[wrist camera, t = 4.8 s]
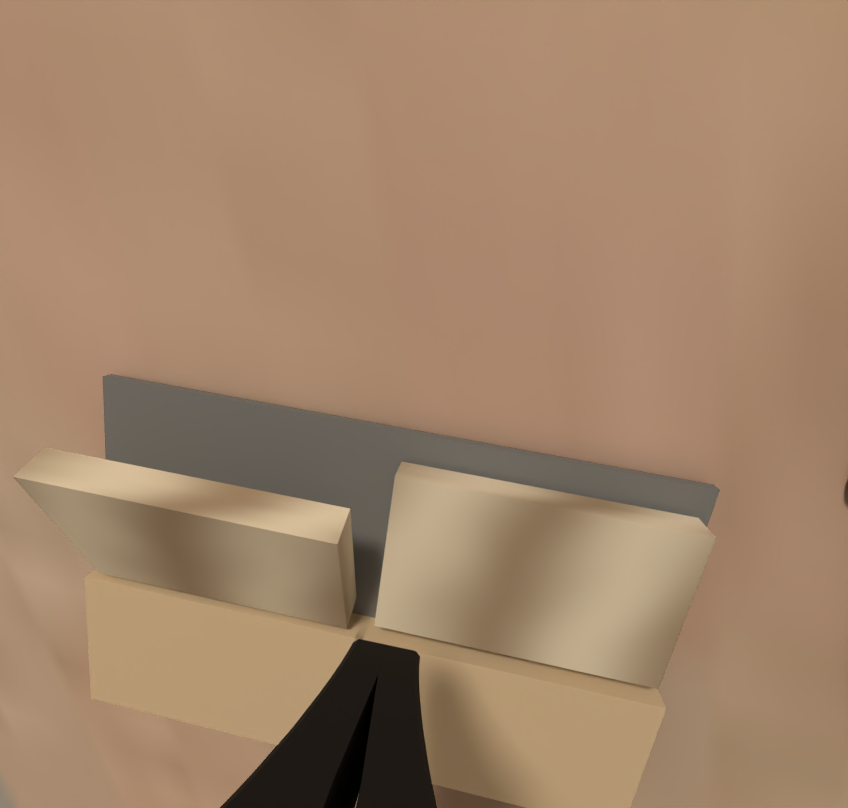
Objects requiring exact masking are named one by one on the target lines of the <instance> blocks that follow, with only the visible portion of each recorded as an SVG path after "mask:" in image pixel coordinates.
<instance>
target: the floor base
mask: <svg viewBox="0 0 848 808" xmlns="http://www.w3.org/2000/svg"><path fill="white" fill-rule="evenodd" d="M103 397H104V424H105V452H106V460H111V461H116V462H121V463H126V464H131V465H136V466H141V467H146V468H151V469H156V470H161V471H166V472H171V473H176V474H181V475H186V476H191V477H195V478H200V479H205V480H210V481H215V482H220V483H225V484H230V485H235V486H240V487H245V488H250V489H255V490H260V491H265V492H270V493H275V494H280V495H285V496H290V497H295V498H300V499H305V500H310V501H315V502H320V503H325V504H330V505H335V506H340V507H345V508H350V511H351V525H352V540H353V554H354V568H355V583H356V601H355V604H354V607H353V611H352V614H351V617H350V621H349V624H348V627H347V629H345V628H341V627H337V626H332V625H328V624H323V623H319V622H314V621H310V620H305V619H301V618H297V617H292V616H288V615H283V614H279V613H274V612H270V611H265V610H261V609H257V608H252V607H248V606H243V605H239V604H234V603H230V602H225V601H221V600H216V599H212V598H208V597H203V596H199V595H194V594H190V593H185V592H181V591H176V590H172V589H168V588H163V587H159V586H154V585H150V584H145V583H141V582H136V581H132V580H128V579H123V578H119V577H114V576H110V575H105V574H101V573H98V572H97V571H96V570H94V571H92V572H91V573H89V574H88V575H86V576H85V594H86V613H87V632H88V650H89V669H90V688H91V699H95V700H99V701H103V702H107V703H111V704H115V705H119V706H123V707H127V708H131V709H135V710H139V711H143V712H147V713H151V714H155V715H159V716H163V717H167V718H171V719H175V720H179V721H183V722H187V723H191V724H195V725H198V726H202V727H206V728H210V729H214V730H218V731H222V732H226V733H230V734H234V735H238V736H242V737H246V738H250V739H254V740H258V741H262V742H266V743H270V744H274V745H278V744H279V743H280V741H281V740H282V739H283V738H284V737H285V736H286V735H287V733H288V732H289V731H290V730H291V729H292V727H293V726H294V725H295V724H296V722H297V721H298V720H299V719H300V717H301V716H302V715H303V713H304V712H305V711H306V710H307V708H308V707H309V706H310V704H311V703H312V702H313V701H314V699H315V698H316V697H317V696H318V694H319V693H320V692H321V690H322V689H323V687H324V686H325V685H326V683H327V682H328V681H329V679H330V678H331V676H332V675H333V673H334V672H335V671H336V669H337V668H338V666H339V665H340V663H341V662H342V660H343V658H344V657H345V655H346V654H347V652H348V650H349V649H350V647H351V645H352V643H353V642H354V641H356V640H358V639H362V640H367V641H372V642H376V643H381V644H386V645H390V646H395V647H400V648H404V649H409V650H414V651H416V652H417V653H418V655H419V656H420V663H419V689H420V703H421V715H422V723H423V731H424V738H425V744H426V751H427V757H428V764H429V770H430V775H431V781H432V784H433V785H437V786H441V787H445V788H449V789H453V790H457V791H461V792H465V793H469V794H473V795H477V796H481V797H485V798H489V799H493V800H497V801H501V802H505V803H509V804H513V805H517V806H521V807H525V808H630V806H631V804H632V801H633V798H634V795H635V793H636V790H637V787H638V784H639V782H640V779H641V776H642V773H643V771H644V768H645V765H646V763H647V760H648V757H649V754H650V752H651V749H652V746H653V743H654V741H655V738H656V735H657V732H658V730H659V727H660V724H661V722H662V719H663V716H664V713H665V711H666V707H665V705H664V702H663V700H662V698H661V696H660V693H659V691H658V689H656V688H651V687H647V686H642V685H638V684H633V683H629V682H624V681H620V680H615V679H611V678H606V677H602V676H597V675H593V674H588V673H584V672H580V671H575V670H571V669H566V668H562V667H557V666H553V665H548V664H544V663H539V662H535V661H530V660H526V659H521V658H517V657H512V656H508V655H503V654H499V653H494V652H490V651H485V650H481V649H476V648H472V647H467V646H463V645H458V644H454V643H450V642H445V641H441V640H436V639H432V638H427V637H423V636H418V635H414V634H409V633H405V632H400V631H396V630H391V629H387V628H382V627H378V626H374V624H375V616H376V609H377V602H378V595H379V587H380V580H381V573H382V566H383V559H384V551H385V544H386V537H387V530H388V523H389V515H390V508H391V501H392V494H393V486H394V479H395V475H396V473H397V470H398V468H399V466H400V464H401V462H407V463H412V464H418V465H423V466H428V467H433V468H439V469H444V470H449V471H454V472H460V473H465V474H470V475H475V476H481V477H486V478H491V479H497V480H502V481H507V482H512V483H518V484H523V485H528V486H533V487H539V488H544V489H549V490H555V491H560V492H565V493H570V494H576V495H581V496H586V497H591V498H597V499H602V500H607V501H612V502H618V503H623V504H628V505H634V506H639V507H644V508H649V509H655V510H660V511H665V512H670V513H676V514H681V515H686V516H691V517H697V518H699V519H700V520H701V521H702V523H703V524H704V525H705V526H706V527H707V525H708V522H709V519H710V516H711V514H712V511H713V508H714V505H715V502H716V499H717V496H718V493H719V491H720V490H719V489H718V488H717V487H716V486H715V485H712V484H707V483H701V482H696V481H690V480H685V479H679V478H674V477H668V476H663V475H657V474H652V473H647V472H641V471H636V470H630V469H625V468H619V467H614V466H608V465H603V464H597V463H592V462H586V461H581V460H576V459H570V458H565V457H559V456H554V455H548V454H543V453H537V452H532V451H526V450H521V449H516V448H510V447H505V446H499V445H494V444H488V443H483V442H477V441H472V440H466V439H461V438H456V437H450V436H445V435H439V434H434V433H428V432H423V431H417V430H412V429H406V428H401V427H395V426H390V425H385V424H379V423H374V422H368V421H363V420H357V419H352V418H346V417H341V416H335V415H330V414H325V413H319V412H314V411H308V410H303V409H297V408H292V407H286V406H281V405H275V404H270V403H265V402H259V401H254V400H248V399H243V398H237V397H232V396H226V395H221V394H215V393H210V392H204V391H199V390H194V389H188V388H183V387H177V386H172V385H166V384H161V383H155V382H150V381H144V380H139V379H134V378H128V377H123V376H117V375H112V374H111V375H107V376H103Z"/></svg>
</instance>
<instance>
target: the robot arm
mask: <svg viewBox="0 0 848 808" xmlns="http://www.w3.org/2000/svg"><path fill="white" fill-rule="evenodd" d="M419 663H420V656H419V655H418V653H417V652H416V651H414V650H409V649H404V648H400V647H395V646H390V645H386V644H381V643H376V642H372V641H367V640H362V639H358V640H356V641H354V642H353V643H352V645H351V647H350V649H349V650H348V652H347V654H346V655H345V657H344V658H343V660H342V662H341V663H340V665H339V666H338V668H337V669H336V671H335V672H334V673H333V675H332V676H331V678H330V679H329V681H328V682H327V683H326V685H325V686H324V687H323V689H322V690H321V692H320V693H319V694H318V696H317V697H316V698H315V699H314V701H313V702H312V703H311V704H310V706H309V707H308V708H307V710H306V711H305V712H304V713H303V715H302V716H301V717H300V719H299V720H298V721H297V722H296V724H295V725H294V726H293V727H292V729H291V730H290V731H289V732H288V733H287V735H286V736H285V737H284V738H283V739H282V740H281V741H280V743H279V744H278V745H277V746H276V747H275V748H274V749H273V751H272V752H271V753H270V754H269V755H268V756H267V757H266V759H265V760H264V761H263V762H262V763H261V764H260V766H259V767H258V768H257V769H256V770H255V771H254V772H253V773H252V775H251V776H250V777H249V778H248V779H247V780H246V781H245V782H244V783H243V784H242V785H241V786H240V787H239V788H238V790H237V791H236V792H235V793H234V794H233V795H232V796H231V797H230V798H229V799H228V800H227V801H226V802H225V803H224V804H223V805H222V806H221V807H220V808H354V807H355V804H356V801H357V798H358V801H357V806H356V808H437V806H436V801H435V796H434V791H433V786H432V781H431V775H430V770H429V764H428V757H427V751H426V744H425V738H424V731H423V723H422V715H421V703H420V689H419ZM358 794H359V796H358Z"/></svg>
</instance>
